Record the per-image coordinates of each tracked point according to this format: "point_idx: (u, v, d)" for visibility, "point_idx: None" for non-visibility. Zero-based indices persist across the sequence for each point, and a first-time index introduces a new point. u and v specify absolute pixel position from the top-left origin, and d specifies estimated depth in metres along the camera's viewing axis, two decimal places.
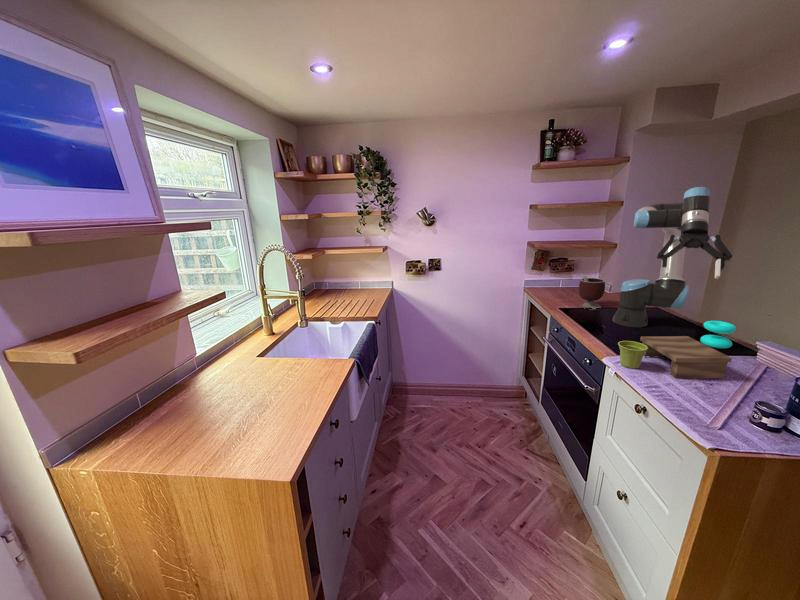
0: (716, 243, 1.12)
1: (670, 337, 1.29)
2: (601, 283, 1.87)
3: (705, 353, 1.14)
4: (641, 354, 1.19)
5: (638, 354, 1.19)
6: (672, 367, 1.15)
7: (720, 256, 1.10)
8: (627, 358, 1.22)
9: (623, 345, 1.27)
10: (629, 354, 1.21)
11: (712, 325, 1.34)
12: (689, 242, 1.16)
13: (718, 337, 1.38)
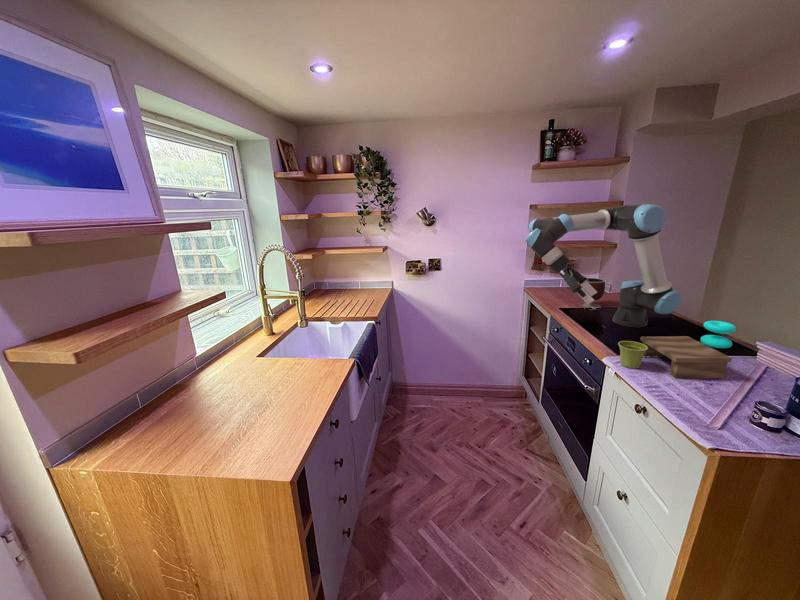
0: None
1: (670, 337, 1.29)
2: (601, 283, 1.87)
3: (705, 353, 1.14)
4: (641, 354, 1.19)
5: (638, 354, 1.19)
6: (672, 367, 1.15)
7: None
8: (627, 358, 1.22)
9: (623, 345, 1.27)
10: (629, 354, 1.21)
11: (712, 325, 1.34)
12: None
13: (718, 337, 1.38)
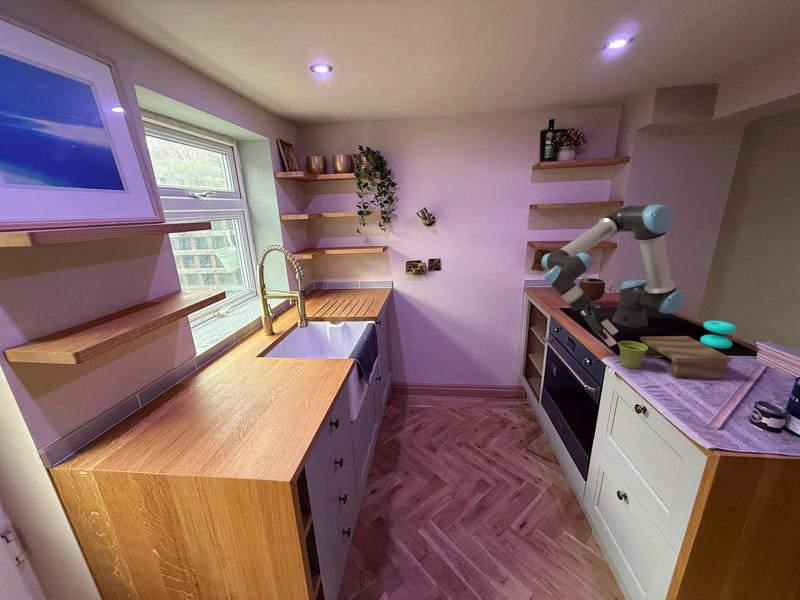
0: None
1: (670, 337, 1.29)
2: (601, 283, 1.87)
3: (705, 353, 1.14)
4: (641, 354, 1.19)
5: (638, 354, 1.19)
6: (672, 367, 1.15)
7: None
8: (627, 358, 1.22)
9: (623, 345, 1.27)
10: (629, 354, 1.21)
11: (712, 325, 1.34)
12: None
13: (718, 337, 1.38)
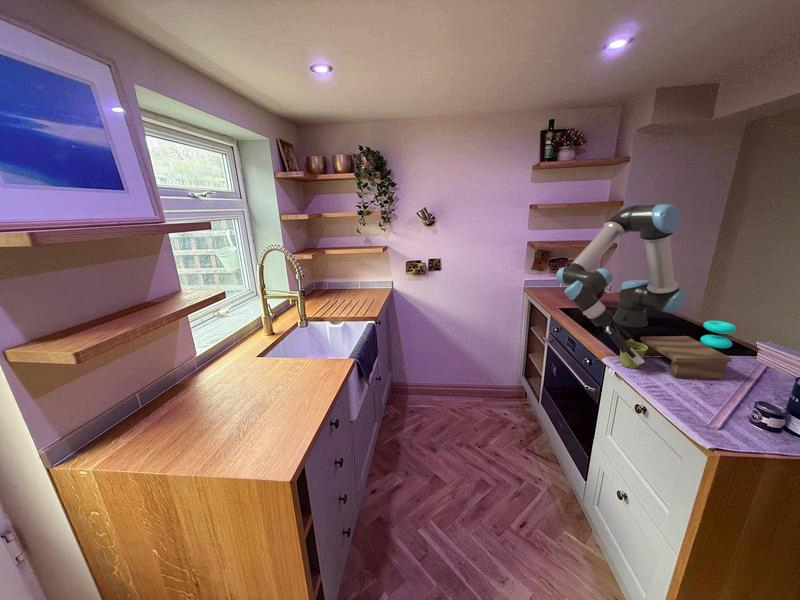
0: None
1: (670, 337, 1.29)
2: None
3: (705, 353, 1.14)
4: (641, 354, 1.19)
5: (638, 354, 1.19)
6: (672, 367, 1.15)
7: None
8: (627, 358, 1.22)
9: None
10: None
11: (712, 325, 1.34)
12: None
13: (718, 337, 1.38)
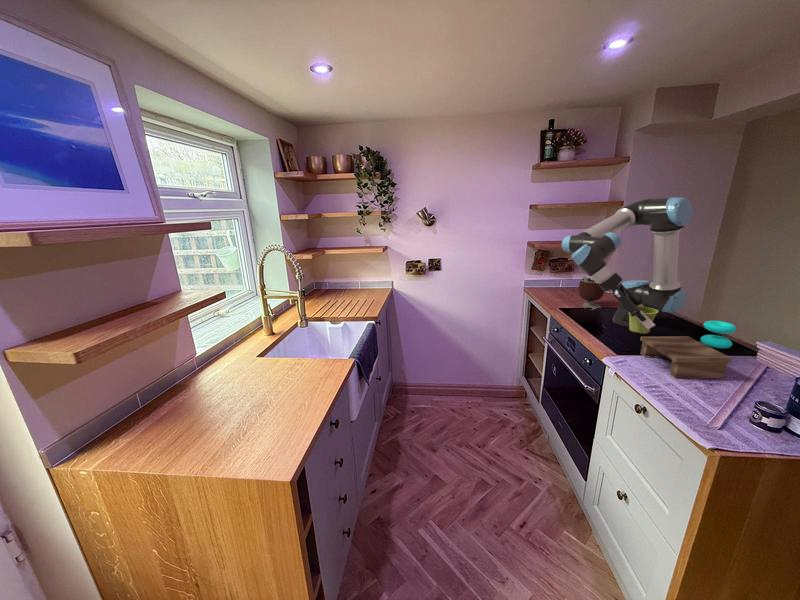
0: None
1: (670, 337, 1.29)
2: None
3: (705, 353, 1.14)
4: (651, 318, 1.15)
5: None
6: (672, 367, 1.15)
7: None
8: (637, 323, 1.17)
9: None
10: None
11: (712, 325, 1.34)
12: None
13: (718, 337, 1.38)
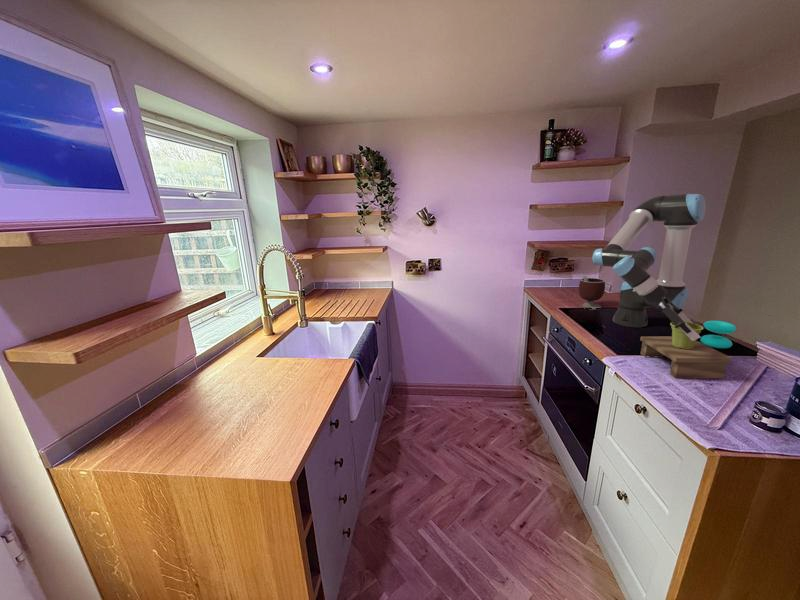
0: None
1: (670, 337, 1.29)
2: (601, 283, 1.87)
3: (705, 353, 1.14)
4: None
5: None
6: (672, 367, 1.15)
7: None
8: (681, 339, 1.18)
9: None
10: (684, 335, 1.16)
11: (712, 325, 1.34)
12: None
13: (718, 337, 1.38)
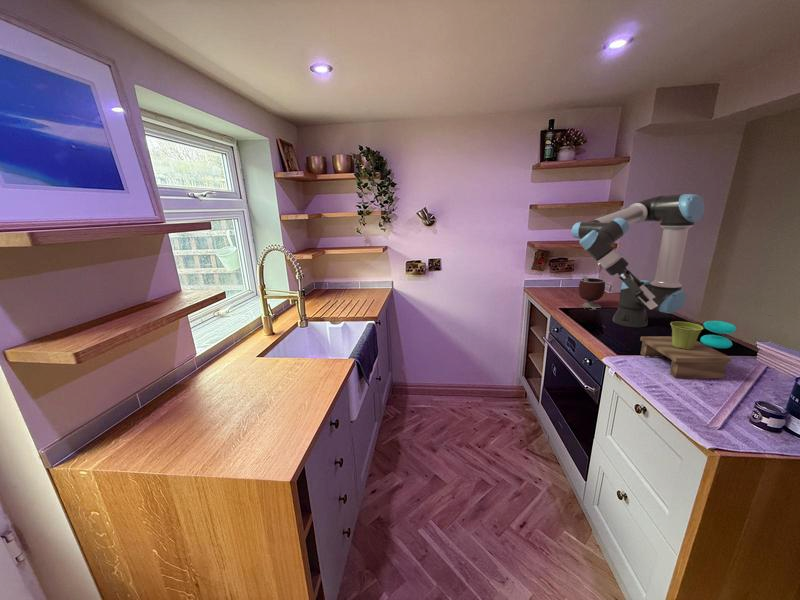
0: None
1: (670, 337, 1.29)
2: (601, 283, 1.87)
3: (705, 353, 1.14)
4: (697, 334, 1.15)
5: (694, 334, 1.15)
6: (672, 367, 1.15)
7: None
8: (681, 339, 1.18)
9: (675, 326, 1.22)
10: (684, 335, 1.16)
11: (712, 325, 1.34)
12: None
13: (718, 337, 1.38)
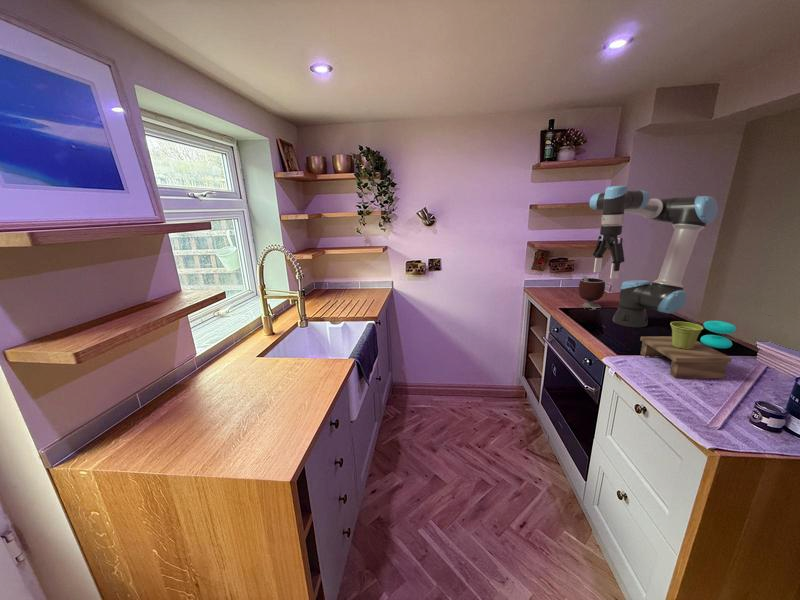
0: None
1: (670, 337, 1.29)
2: (601, 283, 1.87)
3: (705, 353, 1.14)
4: (697, 334, 1.15)
5: (693, 334, 1.15)
6: (672, 367, 1.15)
7: (613, 260, 1.27)
8: (681, 339, 1.18)
9: (675, 326, 1.22)
10: (684, 335, 1.16)
11: (712, 325, 1.34)
12: (604, 244, 1.33)
13: (718, 337, 1.38)
